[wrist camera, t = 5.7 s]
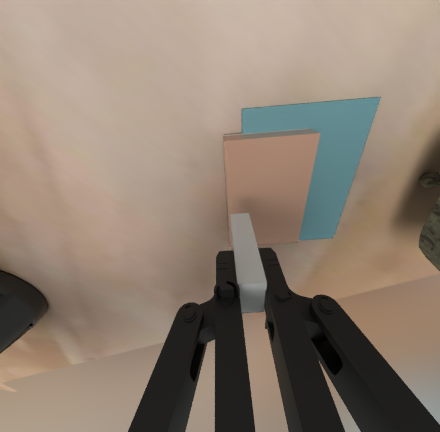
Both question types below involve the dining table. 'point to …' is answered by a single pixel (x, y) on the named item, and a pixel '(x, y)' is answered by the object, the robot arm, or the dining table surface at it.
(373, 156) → the dining table surface
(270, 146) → the tile
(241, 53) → the dining table surface
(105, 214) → the dining table surface
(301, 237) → the felt mat
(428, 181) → the tabletop clock
